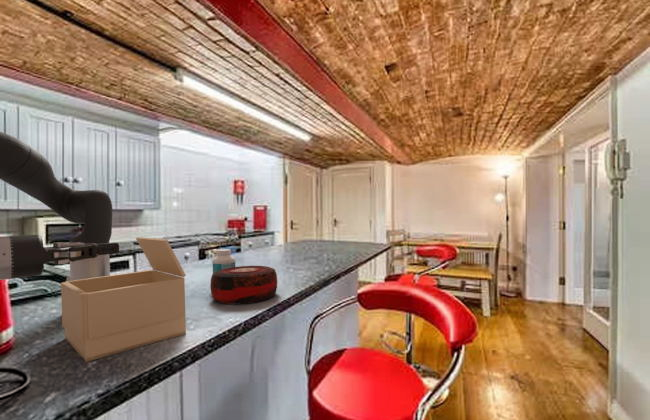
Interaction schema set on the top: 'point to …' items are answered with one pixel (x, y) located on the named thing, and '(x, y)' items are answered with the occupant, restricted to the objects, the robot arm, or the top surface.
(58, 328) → the top surface
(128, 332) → the carton
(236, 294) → the wheel
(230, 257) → the pill bottle
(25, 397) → the top surface
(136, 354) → the top surface
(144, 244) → the carton flap
